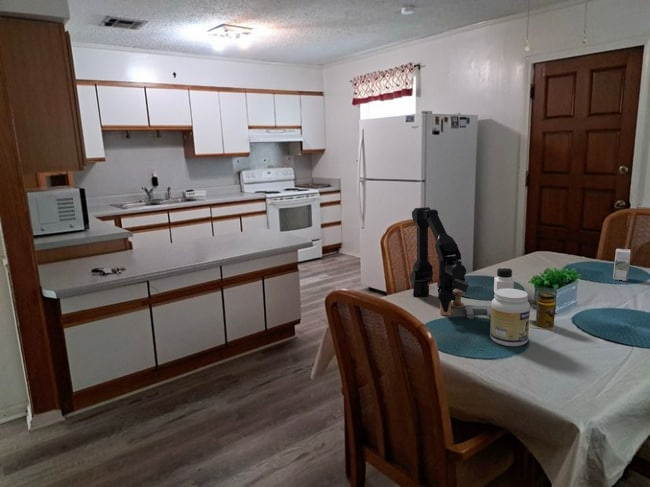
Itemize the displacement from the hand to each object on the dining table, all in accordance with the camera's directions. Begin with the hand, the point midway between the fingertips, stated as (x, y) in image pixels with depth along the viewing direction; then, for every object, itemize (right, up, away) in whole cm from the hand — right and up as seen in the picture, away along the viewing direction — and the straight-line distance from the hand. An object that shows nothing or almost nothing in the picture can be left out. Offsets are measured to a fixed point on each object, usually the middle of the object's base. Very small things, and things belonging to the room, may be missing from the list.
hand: (445, 310), depth 180 cm
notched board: (+13, -1, -3) cm, 13 cm away
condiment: (+32, -4, -15) cm, 35 cm away
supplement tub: (+15, -7, -26) cm, 31 cm away
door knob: (+7, +1, +8) cm, 10 cm away
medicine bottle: (+31, +4, +19) cm, 37 cm away
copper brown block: (0, -1, 0) cm, 1 cm away
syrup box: (+93, +9, +35) cm, 100 cm away
